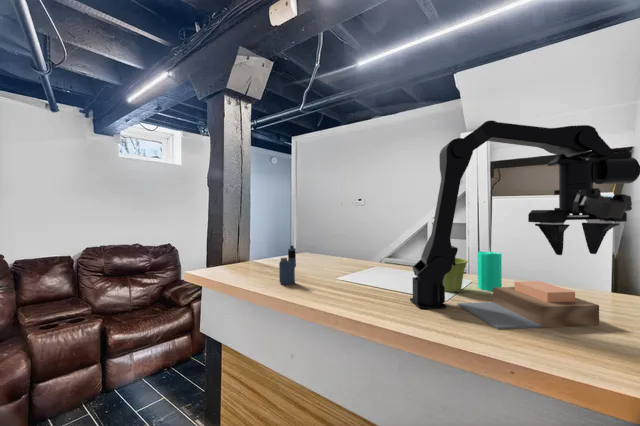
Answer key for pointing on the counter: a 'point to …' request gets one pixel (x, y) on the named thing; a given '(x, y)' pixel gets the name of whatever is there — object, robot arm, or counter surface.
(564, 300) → the salmon pink brick
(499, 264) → the candle
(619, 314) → the counter surface
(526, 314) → the wooden block
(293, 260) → the vaping device
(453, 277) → the plant pot
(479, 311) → the mat
